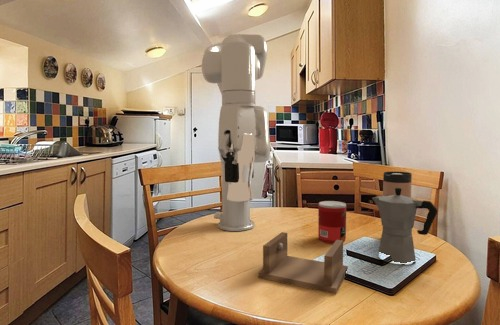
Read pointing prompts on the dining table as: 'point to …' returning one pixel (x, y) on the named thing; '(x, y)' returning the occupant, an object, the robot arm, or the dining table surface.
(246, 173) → the beer glass
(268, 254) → the holder
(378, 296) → the dining table surface
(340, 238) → the canned food
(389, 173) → the travel mug
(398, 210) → the coffeepot
